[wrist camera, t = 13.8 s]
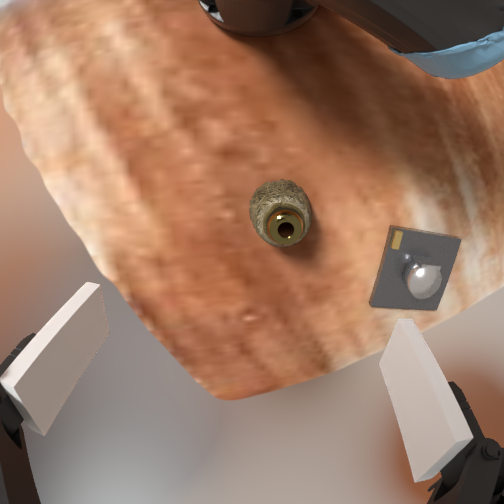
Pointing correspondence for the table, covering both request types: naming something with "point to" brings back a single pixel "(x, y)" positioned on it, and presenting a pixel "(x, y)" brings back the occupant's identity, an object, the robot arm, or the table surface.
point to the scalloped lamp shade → (280, 212)
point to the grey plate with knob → (414, 269)
